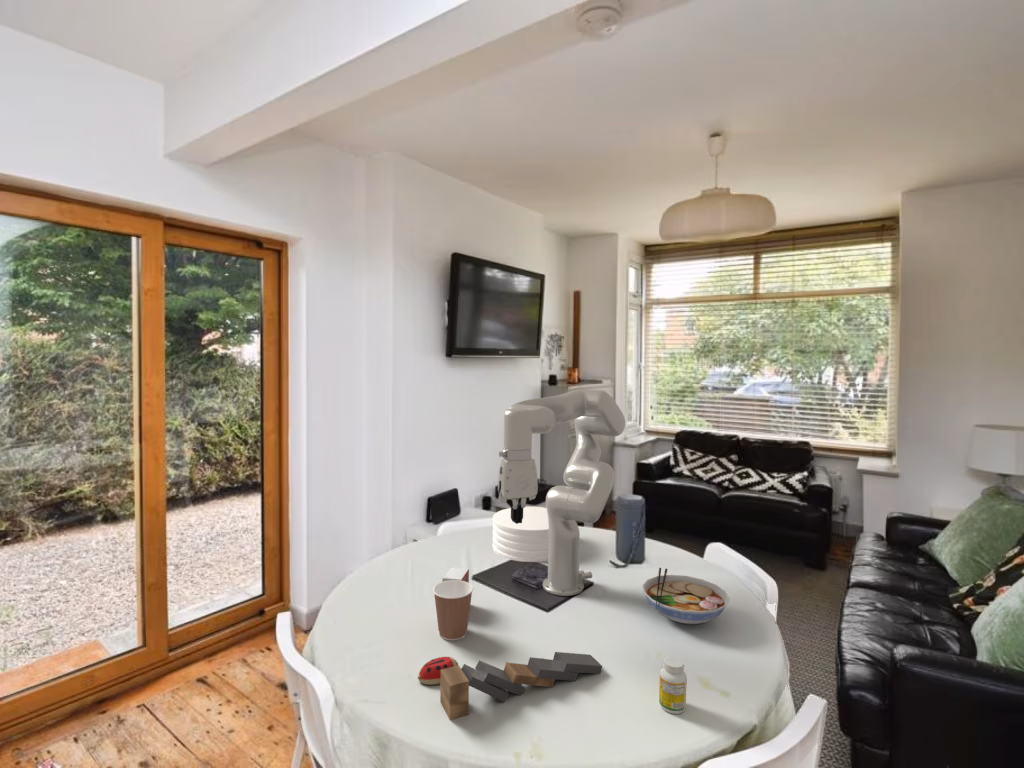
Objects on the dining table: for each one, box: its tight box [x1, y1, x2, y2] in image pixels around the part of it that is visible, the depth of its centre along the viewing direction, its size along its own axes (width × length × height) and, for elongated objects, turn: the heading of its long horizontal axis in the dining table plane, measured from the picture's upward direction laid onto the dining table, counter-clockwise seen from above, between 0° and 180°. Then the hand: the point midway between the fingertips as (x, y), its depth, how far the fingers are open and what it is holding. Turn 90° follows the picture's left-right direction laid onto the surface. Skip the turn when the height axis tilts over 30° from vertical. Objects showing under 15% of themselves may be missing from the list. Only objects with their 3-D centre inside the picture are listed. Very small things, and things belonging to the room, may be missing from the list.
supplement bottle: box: [658, 655, 688, 715], centre depth 113 cm, size 5×5×10 cm
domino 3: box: [503, 661, 556, 688], centre depth 120 cm, size 2×5×10 cm
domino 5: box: [552, 651, 603, 675], centre depth 125 cm, size 2×5×10 cm
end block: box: [439, 664, 470, 721], centre depth 112 cm, size 4×6×7 cm, turn 25°
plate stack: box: [492, 506, 549, 563], centre depth 203 cm, size 28×28×12 cm
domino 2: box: [474, 659, 525, 696], centre depth 117 cm, size 2×5×10 cm
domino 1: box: [460, 663, 509, 703], centre depth 115 cm, size 2×5×10 cm
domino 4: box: [527, 656, 579, 682], centre depth 122 cm, size 2×5×10 cm
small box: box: [441, 567, 470, 583], centre depth 154 cm, size 8×6×10 cm
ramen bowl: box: [642, 567, 730, 625], centre depth 151 cm, size 25×23×8 cm
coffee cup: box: [432, 580, 474, 641], centre depth 141 cm, size 10×10×12 cm
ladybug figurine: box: [417, 656, 459, 686], centre depth 123 cm, size 7×10×4 cm
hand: (516, 521), depth 147 cm, fingers closed
